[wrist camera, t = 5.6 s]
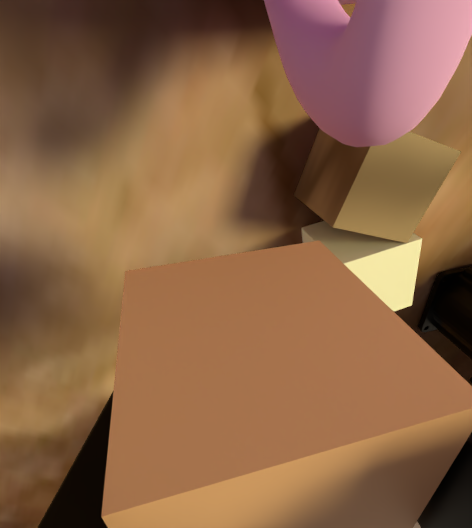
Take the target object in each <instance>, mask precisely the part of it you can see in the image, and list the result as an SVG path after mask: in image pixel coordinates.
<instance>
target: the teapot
mask: <svg viewBox="0 0 472 528" xmlns="http://www.w3.org/2000/svg"><path fill="white" fill-rule="evenodd" d="M264 2H265V6H266V9H267V13H268V17H269V20H270V24H271V27H272V31H273V34H274V38H275V41H276V45H277V48H278V51H279V55H280V58H281V61H282V64H283V67H284V70H285V73H286V75H287V78H288V80H289V82H290V85H291V87H292V89H293V91H294V93H295V95H296V97H297V99H298V101H299V102H300V104H301V105H302V107H303V108H304V110H305V111H306V113H307V114H308V115H309V117H310V118H311V119H312V120H313V121H314V122H315V124H316V125H317V126H318V127H319V128H320V129H321V130H322V131H323V132H325V133H327V134H328V135H330V136H331V137H333V138H334V139H336V140H338V141H339V142H341V143H342V144H345V145H349V146H353V147H366V146H378V145H386V144H388V143H390V142H392V141H394V140H396V139H398V138H400V137H401V136H403V135H404V134H406V133H408V132H409V131H411V130H412V129H414V128H415V127H416V126H417V125H418V124H419V122H420V121H421V120H422V119H423V118H424V117H425V116H426V115H427V113H428V112H429V111H430V110H431V108H432V107H433V106H434V105H435V104H436V102H437V101H438V100H439V99H440V97H441V95H442V93H443V91H444V90H445V88H446V86H447V84H448V83H449V81H450V79H451V77H452V76H453V74H454V72H455V70H456V68H457V67H458V64H459V62H460V60H461V58H462V56H463V54H464V51H465V49H466V47H467V44H468V42H469V40H470V37H471V35H472V0H264ZM353 3H356V5H355V8H354V11H353V13H352V16H351V18H350V17H349V16H348V15H347V13H346V12H345V11H344V10H343V8H342V6H341V5H342V4H353Z"/></svg>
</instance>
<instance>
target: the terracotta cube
mask: <svg viewBox="0 0 472 528" xmlns="http://www.w3.org/2000/svg"><path fill="white" fill-rule="evenodd" d="M471 432H472V386H471V385H470V384H469V383H468V382H467V381H466V380H465V379H464V378H463V377H462V376H461V375H459V374H458V373H457V372H456V371H455V370H454V369H453V368H452V367H451V366H450V365H449V364H448V363H447V362H446V361H445V360H444V359H443V358H442V357H441V356H440V355H439V354H438V353H436V352H435V351H434V350H433V349H432V348H431V347H430V346H429V345H428V344H427V343H426V342H425V341H424V340H423V339H422V338H421V337H420V336H419V335H418V334H417V333H416V332H414V331H413V330H412V329H411V328H410V327H409V326H408V325H407V324H406V323H405V322H404V321H403V320H402V319H401V318H400V317H399V316H398V315H397V314H396V313H395V312H394V311H393V310H391V309H390V308H389V307H388V306H387V305H386V304H385V303H384V302H383V301H382V300H381V299H380V298H379V297H378V296H377V295H376V294H375V293H374V292H373V291H372V290H371V289H370V288H368V287H367V286H366V285H365V284H364V283H363V282H362V281H361V280H360V279H359V278H358V277H357V276H356V275H355V274H354V273H353V272H352V271H351V270H350V269H349V268H348V267H346V266H345V265H344V264H343V263H342V262H341V261H340V260H339V259H338V258H337V257H336V256H335V255H334V254H333V253H332V252H331V251H330V250H329V249H328V248H327V247H326V246H325V245H323V244H322V243H321V242H320V241H313V242H307V243H300V244H294V245H288V246H281V247H275V248H269V249H262V250H256V251H250V252H243V253H237V254H231V255H224V256H218V257H211V258H205V259H199V260H192V261H186V262H180V263H173V264H167V265H161V266H154V267H148V268H142V269H135V270H129V271H125V280H124V290H123V300H122V310H121V320H120V331H119V341H118V351H117V361H116V372H115V382H114V392H113V402H112V412H111V423H110V433H109V443H108V453H107V463H106V474H105V484H104V494H103V504H102V515H101V517H102V519H103V520H104V522H105V524H106V525H107V527H108V528H413V527H414V525H415V523H416V522H417V520H418V518H419V517H420V515H421V514H422V512H423V510H424V509H425V507H426V505H427V504H428V502H429V501H430V499H431V497H432V496H433V494H434V492H435V491H436V489H437V488H438V486H439V484H440V483H441V481H442V479H443V478H444V476H445V475H446V473H447V471H448V470H449V468H450V466H451V465H452V463H453V462H454V460H455V458H456V457H457V455H458V453H459V452H460V450H461V449H462V447H463V445H464V444H465V442H466V440H467V439H468V437H469V436H470V434H471Z"/></svg>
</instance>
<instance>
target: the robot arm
mask: <svg viewBox="0 0 472 528" xmlns="http://www.w3.org/2000/svg"><path fill="white" fill-rule="evenodd" d="M419 329H420V330H421V331H422V332H428V331H432V330H437V329H438V330H439V331H440V332H441V333H442V334H443V335H445V336H446V337H447V338H448V339H449V340H450V341H452V342H453V343H454V344H455V345H456V346H457V347H458V348H460V349H461V350H462V351H463V352H464V353H465V354H466V355H468V356H469V357H470V358H471V359H472V266H471V267H466V268H461V269H456V270H450V271H445V272H441V273H440V274H439V275H438V276H437V278H436V281H435V283H434V286H433V289H432V292H431V294H430V297H429V300H428V303H427V305H426V308H425V311H424V314H423V316H422V319H421V322H420V325H419ZM470 381H471V383H472V378H471V379H470ZM113 392H114V391H113ZM112 402H113V393H112V394H111V396H110V398H109V400H108V402H107V403H106V405H105V407H104V409H103V411H102V412H101V414H100V416H99V418H98V420H97V421H96V423H95V425H94V427H93V429H92V430H91V432H90V434H89V436H88V438H87V439H86V441H85V443H84V445H83V447H82V448H81V450H80V452H79V454H78V456H77V457H76V459H75V461H74V463H73V465H72V466H71V468H70V470H69V472H68V474H67V475H66V477H65V479H64V481H63V483H62V485H61V486H60V488H59V490H58V492H57V494H56V495H55V497H54V499H53V501H52V503H51V504H50V506H49V508H48V510H47V512H46V513H45V515H44V517H43V519H42V521H41V522H40V524H39V526H38V528H108V527H107V525H106V524H105V522H104V520H103V519H102V517H101V515H102V504H103V494H104V484H105V474H106V463H107V453H108V443H109V433H110V423H111V412H112ZM417 521H418V523H419V525H420V526H421V528H472V432H471V434H470V436H469V437H468V439H467V440H466V442H465V444H464V445H463V447H462V449H461V450H460V452H459V453H458V455H457V457H456V458H455V460H454V462H453V463H452V465H451V466H450V468H449V470H448V471H447V473H446V475H445V476H444V478H443V479H442V481H441V483H440V484H439V486H438V488H437V489H436V491H435V492H434V494H433V496H432V497H431V499H430V501H429V502H428V504H427V505H426V507H425V509H424V510H423V512H422V514H421V515H420V517H419V518H418V520H417Z"/></svg>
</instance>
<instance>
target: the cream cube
mask: <svg viewBox="0 0 472 528" xmlns="http://www.w3.org/2000/svg"><path fill="white" fill-rule="evenodd" d="M301 230H302V241H303V243H307V242H313V241H320V242H321V243H322V244H323V245H325V246H326V247H327V248H328V249H329V250H330V251H331V252H332V253H333V254H334V255H335V256H336V257H337V258H338V259H339V260H340V261H341V262H342V263H343V264H344V265H345V266H346V267H348V268H349V269H350V270H351V271H352V272H353V273H354V274H355V275H356V276H357V277H358V278H359V279H360V280H361V281H362V282H363V283H364V284H365V285H366V286H367V287H368V288H370V289H371V290H372V291H373V292H374V293H375V294H376V295H377V296H378V297H379V298H380V299H381V300H382V301H383V302H384V303H385V304H386V305H387V306H388V307H389V308H390V309H391V310H393V311H397V310H400V309H403V308H406V307H409V306H412V302H413V295H414V289H415V282H416V276H417V269H418V263H419V256H420V250H421V244H422V238H421V237H419V236H417V235H415V234H414V233H413V234H412V236H411V237H410V239H409V241H408V242H407V243H404V242H399V241H395V240H390V239H385V238H381V237H376V236H371V235H366V234H362V233H357V232H352V231H348V230H343V229H338V228H334V227H332V226H331V225H329V224H328V223H327V222H326V221H322V222H318V223H315V224H312V225H308V226H305V227H302V228H301Z"/></svg>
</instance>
